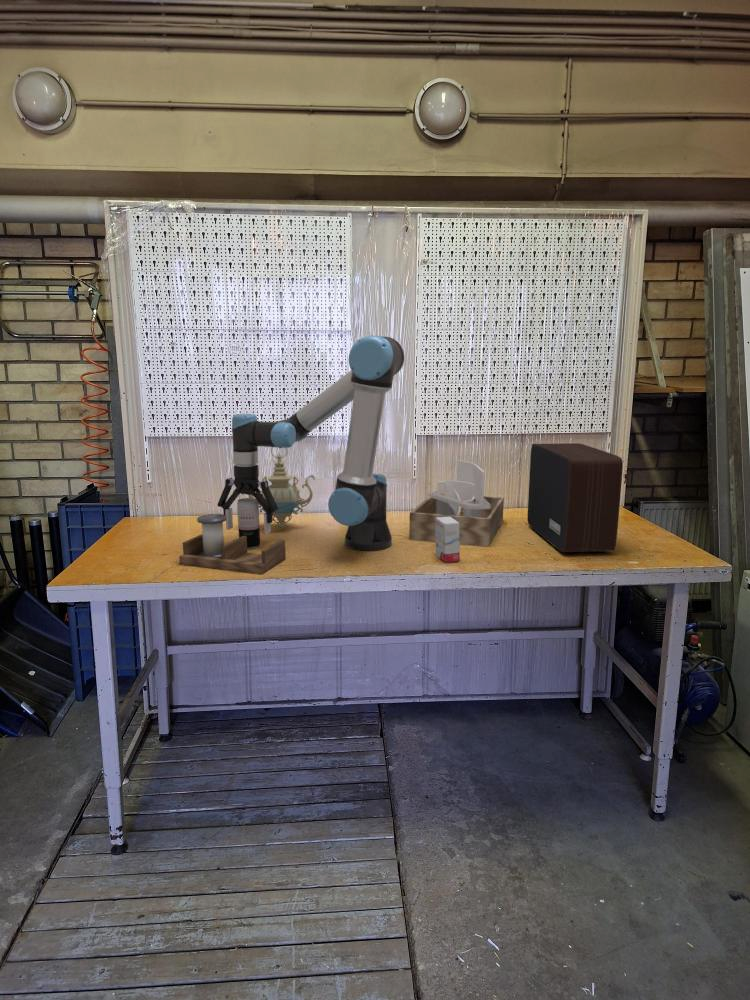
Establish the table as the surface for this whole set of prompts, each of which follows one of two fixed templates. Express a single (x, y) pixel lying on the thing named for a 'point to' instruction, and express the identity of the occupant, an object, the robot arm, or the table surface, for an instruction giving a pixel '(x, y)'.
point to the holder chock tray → (469, 527)
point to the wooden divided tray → (234, 556)
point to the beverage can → (249, 521)
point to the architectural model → (462, 492)
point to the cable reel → (212, 534)
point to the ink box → (447, 539)
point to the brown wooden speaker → (575, 496)
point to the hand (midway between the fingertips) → (248, 530)
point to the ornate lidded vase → (284, 492)
